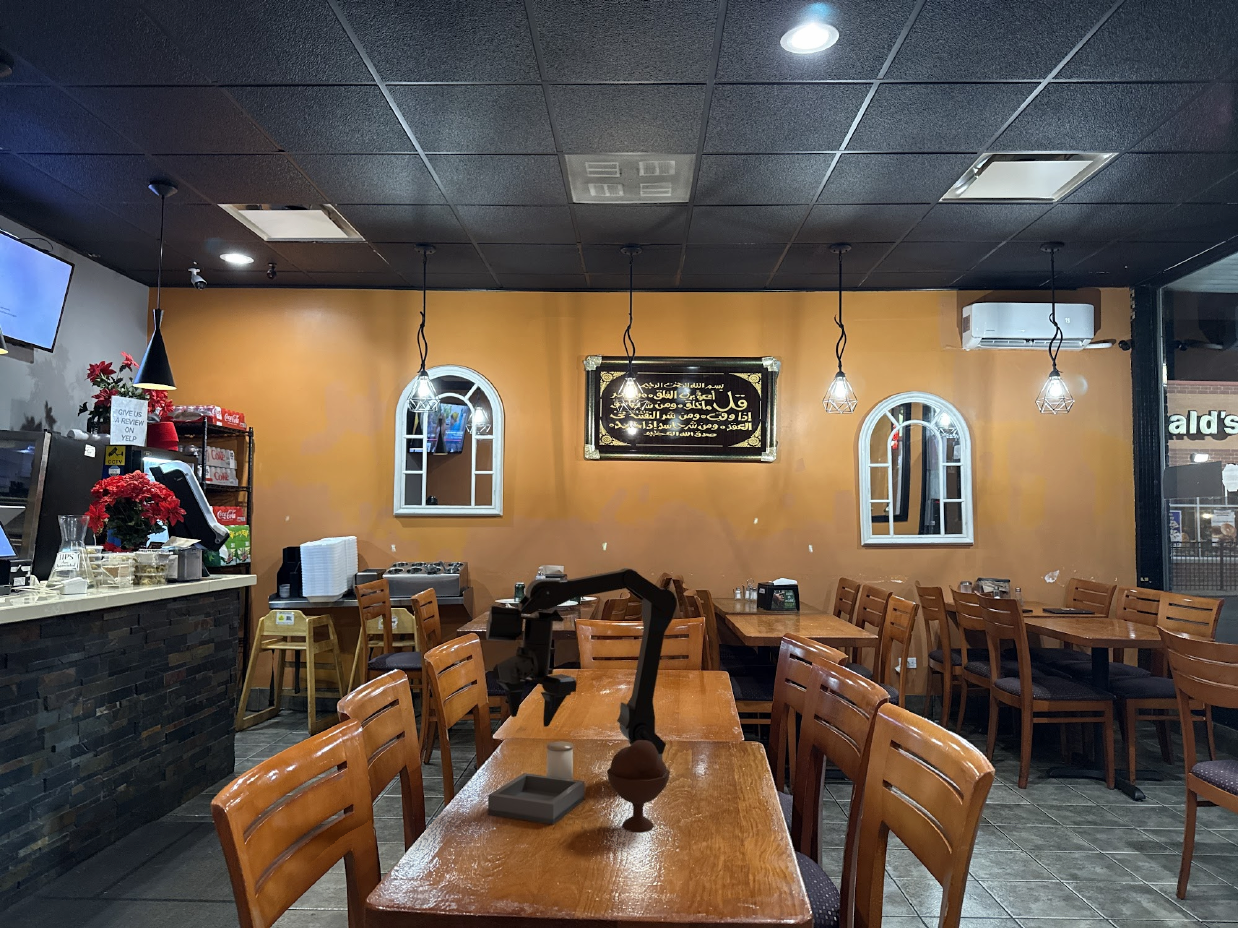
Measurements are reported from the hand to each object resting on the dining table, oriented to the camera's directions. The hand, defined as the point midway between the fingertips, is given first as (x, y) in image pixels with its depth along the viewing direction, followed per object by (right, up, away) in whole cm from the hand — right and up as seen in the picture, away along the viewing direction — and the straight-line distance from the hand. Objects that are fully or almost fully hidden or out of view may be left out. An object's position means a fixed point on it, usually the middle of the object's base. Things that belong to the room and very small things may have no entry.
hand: (529, 721), depth 162 cm
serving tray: (+3, -12, -11) cm, 17 cm away
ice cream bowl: (+21, -12, -20) cm, 32 cm away
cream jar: (+6, -13, +2) cm, 15 cm away
